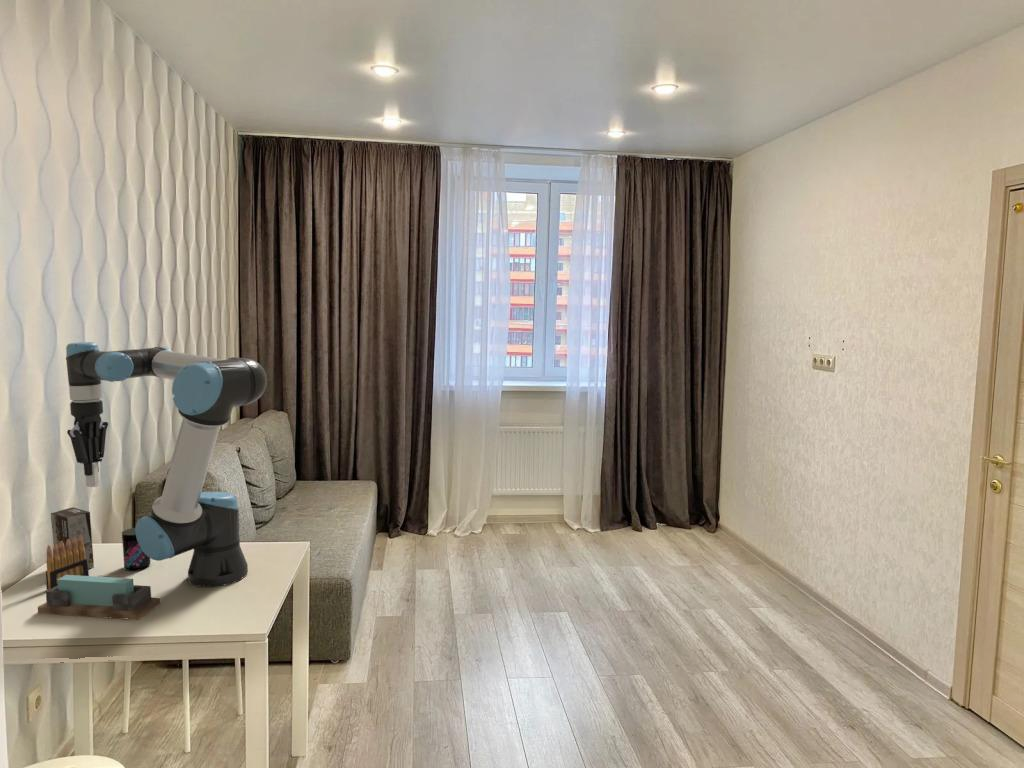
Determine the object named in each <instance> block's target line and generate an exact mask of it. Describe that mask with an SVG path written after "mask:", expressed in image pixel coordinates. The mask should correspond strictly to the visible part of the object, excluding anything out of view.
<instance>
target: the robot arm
mask: <svg viewBox="0 0 1024 768" xmlns="http://www.w3.org/2000/svg"><path fill="white" fill-rule="evenodd" d="M65 350H66V354H65V355H66V357H65V360H66V370H67V380H68V381H67V382H68V388H69V390H68V391H69V392H68V393H69V400H71V401H70V403H69V407H70V415H71V416H73V417H74V422H73V427H72V429H68V430H67V431H66V434H67V435H68V436H69V438H70V441H71V445H72V449H73V451H74V452H73V453H74V455H75V459H76V463H78V464H83V472H84V476H85V487H87V488H97V487H99V486H100V478H99V473H100V468H99V462H102V461H103V458H104V457H105V449H106V436H107V429H108V426H109V423H108V422H107V421H103V420H102V417H101V415H102V414H103V413H104V407H103V400H102V399H103V391H102V388H103V387H102V381H106V382H110V383H113V382H123V381H125V380H127V379H133V378H141V377H157V378H163V379H168V380H173V382H172V387H171V393H172V395H174V397H172V400H173V403H174V405H175V408H177V412H178V414H179V416H180V417H181V418H182V420H181V424H180V427H179V432H178V435H177V439H176V443H175V446H174V450H173V453H172V456H171V461H170V464H169V469H168V471H167V476H166V480H165V483H164V487H163V491H162V493H161V496H159V497H157V498H156V499H155V500H154V501H153V502H152V505H151V510H150V513H149V515H144V516H142V517H141V518H139V519H138V520H137V522H136V524H135V528H136V529H135V532H136V538H137V541H138V543H139V546H140V548H141V549H142V551H143V552H144V553H145V554H146V555H147V556H148V557H149V558H150V560H153V561H165V560H168V559H173V558H174V557H176V556H178V555H179V556H180V555H181V554H185V553H186V552H190V551H192V550H193V553H192V557H191V559H190V560H191V561H190V563H189V566H188V570H187V579H188V583H190V584H191V585H193V586H196V587H205V588H206V587H220V586H224V584H226V585H230V584H232V582H233V583H235V582H234V581H236V582H238V581H240V580H242V579H243V578H242V577H244V576H245V575H246V574H247V572H248V573H249V568H248V567H249V565H248V562H247V559H246V558H245V555H244V552H243V549H242V547H241V543H240V542H241V541H240V540H241V539H240V522H239V521H240V518H239V510H240V508H239V505H238V498H237V496H236V495H234V493H231V492H226V491H203V487H204V484H205V480H206V478H207V477H206V476H207V473H208V471H209V467H210V464H211V461H212V457H213V453H214V450H215V447H216V443H217V440H218V435H219V432H220V430H221V427H222V426H225V425H227V424H228V423H229V421H230V419H231V415H232V412H233V409H234V408H237V407H243V406H246V405H250V404H253V403H254V402H256V401H257V400H259V399H260V398H261V397H262V396H263V395H264V393H265V391H266V389H267V385H268V378H267V373H266V371H265V369H264V367H263V366H262V365H261V364H260V363H259V362H257V360H253V359H251V358H245V357H243V358H242V357H234V356H231V357H229V358H227V359H222V358H216V357H211V356H205V355H198V354H191V353H184V352H179V351H173V350H172V349H171V348H169V347H166V346H165V347H164V346H163V347H161V346H154V347H149V348H147V347H146V348H140V349H139V348H137V349H124V350H121V349H120V350H113V351H112V350H110V351H100V349H99V344H98V343H97V342H93V341H85V342H84V341H83V342H82V341H81V342H79V341H78V342H70V343H68V344H67V345H66V347H65ZM247 575H248V574H247ZM247 575H246V576H247ZM246 576H245V577H246ZM245 577H244V578H245ZM241 578H242V579H241ZM239 579H240V580H239ZM237 580H238V581H237ZM229 583H230V584H229Z"/></svg>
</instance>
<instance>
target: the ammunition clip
mask: <svg viewBox="0 0 1024 768" xmlns="http://www.w3.org/2000/svg"><path fill="white" fill-rule="evenodd" d="M45 562H46V563H45V564H46V571H45V578H46V579H45V580H46V590H47V589H48V590H50V589H52V588H54V587H55V586H57V585H58V583H57V579H59V578H61V577H63V576H65V575H79V576H90V575H89V569H88V564H87V559H86V556H85V548H84V543H83V538H82V536H81V535H79V539H78V546H77V541H76V538H75V537H73V540H72V550H71V544H70V541H69V539H67V541H66V554H65V547H64V544H63V542H62V541H61V542H60V555H59V551H58V547H57V544H56V543H54V544H53V548H52V547H51V546H50V544H48V545H47V548H46V561H45ZM48 590H47V591H48Z"/></svg>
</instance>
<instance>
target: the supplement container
mask: <svg viewBox="0 0 1024 768" xmlns="http://www.w3.org/2000/svg"><path fill="white" fill-rule="evenodd" d="M135 529H136V527H131V528H128V529H125V530H123V531H122V532H121V541H122V555H123V557H122V558H123V567H124V569H125V570H126V571H129V572H134V571H141V570H145V569H147V568H149V566H150V565H151V558H149V557H148V556H147V555H146V554H145V553H144V552H143V551H142V549H141V548H140V546H139V543H138V541H137V538H136V532H135Z"/></svg>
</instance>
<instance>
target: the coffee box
mask: <svg viewBox="0 0 1024 768" xmlns="http://www.w3.org/2000/svg"><path fill="white" fill-rule="evenodd" d="M50 521H51V522H50V523H51V530H52V531H51V532H52V542H53V545H54V543H56V544H57V547H58V551H59V555H60V542H61V541H62V542H63V544H64V547H65V554H66V541H67V539H69V541H70V544H71V550H72V540H73V537H75V538H76V541H77V546H78V539H79V535H81V536H82V538H83V543H84V548H85V556H86V559H87V564H88V570H89V569H90V568H91V569H94V568H95V563H94V550H93V549H94V548H93V536H92V522H91V512H90V511H87V510H84V509H80V508H77V507H68V508H64V509H62V510H58V511H55V512H51V513H50Z"/></svg>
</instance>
